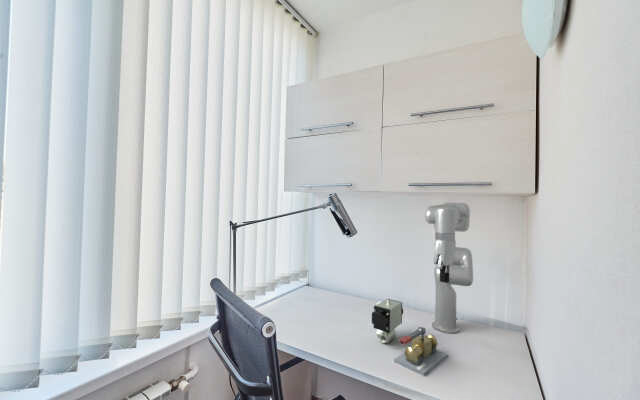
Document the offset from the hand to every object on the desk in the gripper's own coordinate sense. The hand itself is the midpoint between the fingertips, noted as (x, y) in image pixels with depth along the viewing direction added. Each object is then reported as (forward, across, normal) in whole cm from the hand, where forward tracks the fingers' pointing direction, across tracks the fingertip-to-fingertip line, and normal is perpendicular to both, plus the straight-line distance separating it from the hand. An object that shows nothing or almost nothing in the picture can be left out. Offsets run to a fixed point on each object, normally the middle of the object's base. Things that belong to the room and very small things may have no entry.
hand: (444, 281), depth 114 cm
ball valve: (+29, +8, -22) cm, 38 cm away
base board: (+29, +11, -4) cm, 31 cm away
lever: (+19, +18, -4) cm, 26 cm away
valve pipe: (+29, +11, -4) cm, 31 cm away
